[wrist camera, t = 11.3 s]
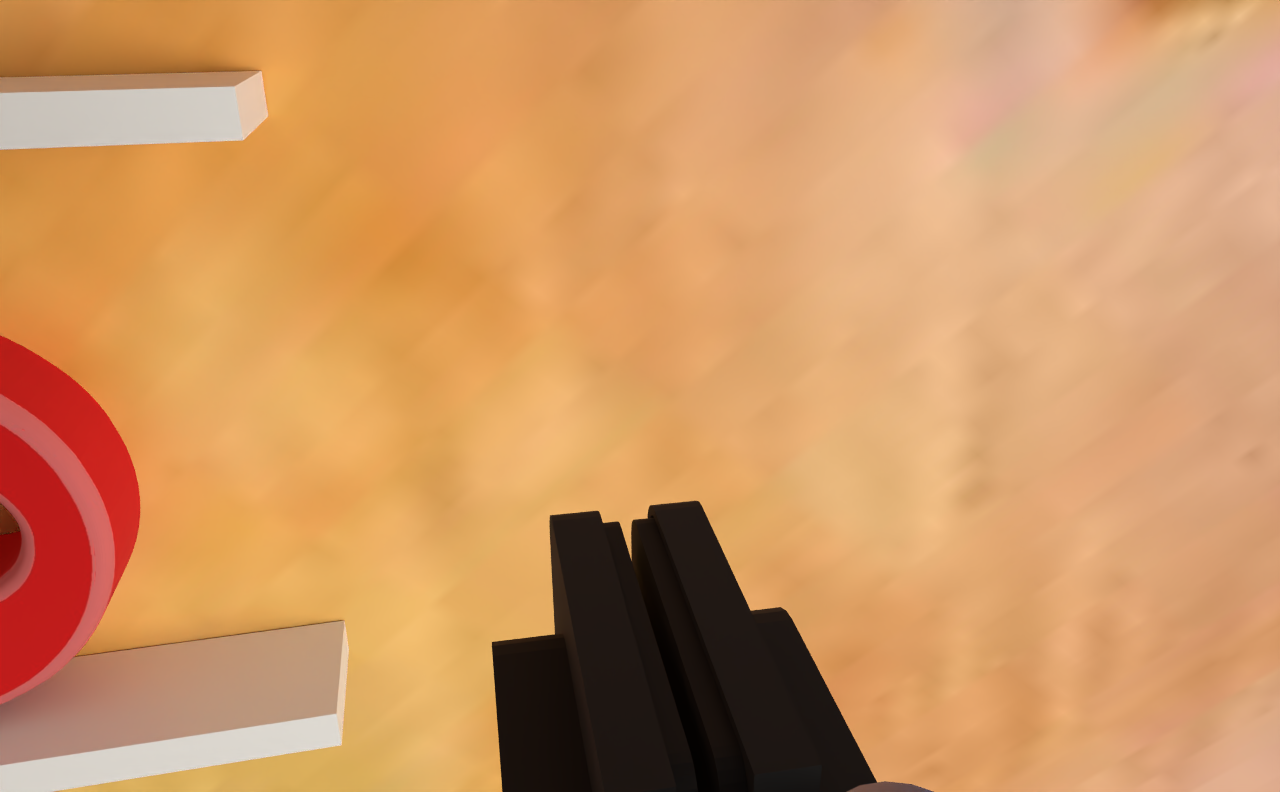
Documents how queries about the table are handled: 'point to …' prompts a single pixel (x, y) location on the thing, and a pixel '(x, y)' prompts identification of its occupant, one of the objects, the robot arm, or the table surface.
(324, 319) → the table surface
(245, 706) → the rail
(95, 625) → the decorative ornament
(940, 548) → the table surface
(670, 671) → the robot arm
